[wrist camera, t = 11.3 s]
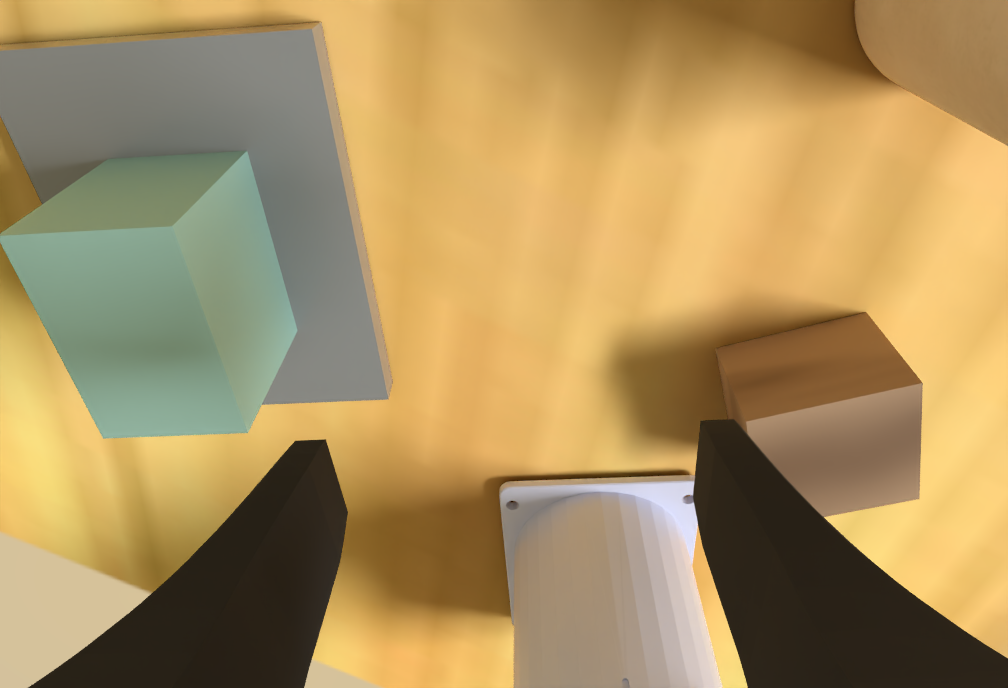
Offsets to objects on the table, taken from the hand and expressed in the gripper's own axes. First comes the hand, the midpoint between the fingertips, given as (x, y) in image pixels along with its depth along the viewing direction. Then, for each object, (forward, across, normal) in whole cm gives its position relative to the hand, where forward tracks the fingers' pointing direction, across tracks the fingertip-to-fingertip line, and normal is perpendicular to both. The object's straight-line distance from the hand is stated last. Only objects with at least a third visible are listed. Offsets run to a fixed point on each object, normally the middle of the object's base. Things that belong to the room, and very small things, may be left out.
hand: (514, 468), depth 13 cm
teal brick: (+9, +9, -1) cm, 13 cm away
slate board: (+10, +9, -1) cm, 14 cm away
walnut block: (+10, -10, +6) cm, 15 cm away
